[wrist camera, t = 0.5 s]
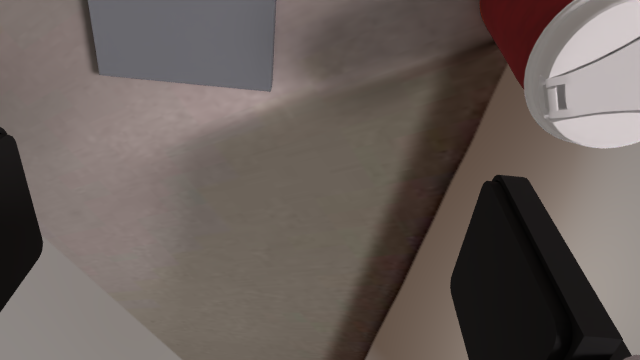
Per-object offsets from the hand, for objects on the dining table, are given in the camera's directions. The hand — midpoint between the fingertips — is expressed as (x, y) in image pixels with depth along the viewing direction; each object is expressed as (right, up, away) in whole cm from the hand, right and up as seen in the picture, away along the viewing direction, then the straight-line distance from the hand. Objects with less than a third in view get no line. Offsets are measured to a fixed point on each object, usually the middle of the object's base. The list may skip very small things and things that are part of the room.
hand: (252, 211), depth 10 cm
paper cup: (+15, +13, +22) cm, 30 cm away
